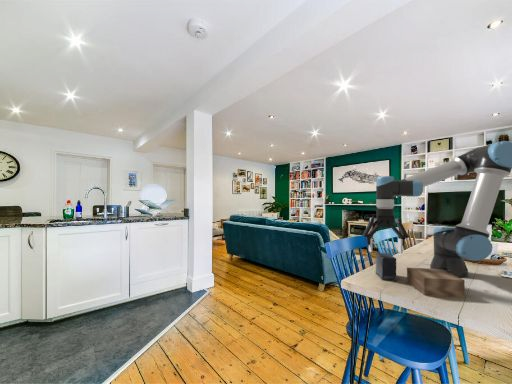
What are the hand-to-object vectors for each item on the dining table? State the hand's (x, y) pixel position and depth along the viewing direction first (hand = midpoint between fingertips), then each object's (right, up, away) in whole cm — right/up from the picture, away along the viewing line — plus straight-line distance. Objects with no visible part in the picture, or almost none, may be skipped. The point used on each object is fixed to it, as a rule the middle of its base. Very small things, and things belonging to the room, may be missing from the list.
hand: (385, 252), depth 112 cm
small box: (0, -12, 0) cm, 12 cm away
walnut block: (+11, -12, -16) cm, 23 cm away
